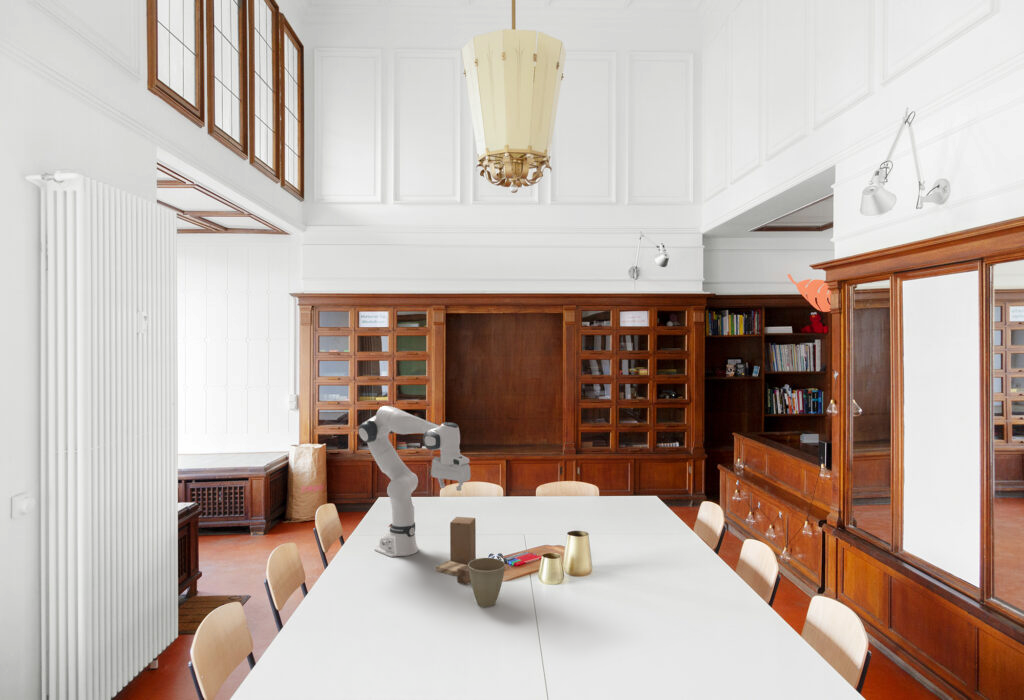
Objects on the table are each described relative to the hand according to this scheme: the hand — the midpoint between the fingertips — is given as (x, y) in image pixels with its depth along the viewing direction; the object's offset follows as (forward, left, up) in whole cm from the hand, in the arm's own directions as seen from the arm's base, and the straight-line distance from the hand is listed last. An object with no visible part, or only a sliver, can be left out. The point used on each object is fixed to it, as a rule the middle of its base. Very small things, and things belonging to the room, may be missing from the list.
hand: (450, 489), depth 273 cm
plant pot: (+31, -16, -39) cm, 53 cm away
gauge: (+10, +1, -39) cm, 40 cm away
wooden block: (-6, +17, -39) cm, 43 cm away
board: (+3, +5, -39) cm, 40 cm away
